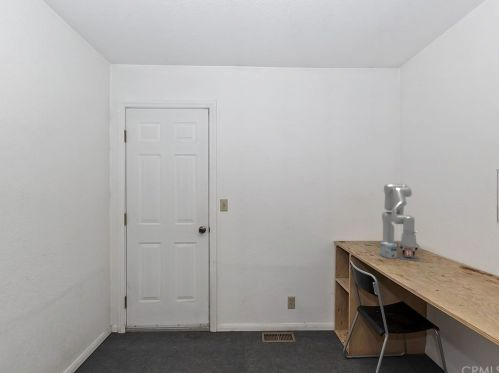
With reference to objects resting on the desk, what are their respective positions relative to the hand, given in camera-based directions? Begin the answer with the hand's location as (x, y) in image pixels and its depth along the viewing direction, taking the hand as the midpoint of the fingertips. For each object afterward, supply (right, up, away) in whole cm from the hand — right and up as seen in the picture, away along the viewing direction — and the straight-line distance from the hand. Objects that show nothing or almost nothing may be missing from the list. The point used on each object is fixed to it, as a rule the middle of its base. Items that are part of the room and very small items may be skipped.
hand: (408, 255), depth 213 cm
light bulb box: (-13, -3, +5) cm, 14 cm away
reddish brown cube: (0, -1, 0) cm, 1 cm away
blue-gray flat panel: (0, -2, 0) cm, 2 cm away
